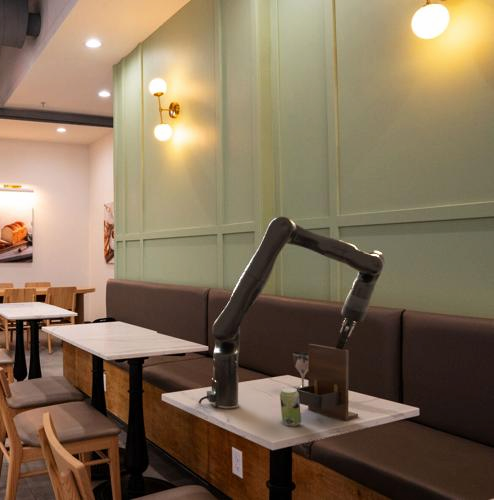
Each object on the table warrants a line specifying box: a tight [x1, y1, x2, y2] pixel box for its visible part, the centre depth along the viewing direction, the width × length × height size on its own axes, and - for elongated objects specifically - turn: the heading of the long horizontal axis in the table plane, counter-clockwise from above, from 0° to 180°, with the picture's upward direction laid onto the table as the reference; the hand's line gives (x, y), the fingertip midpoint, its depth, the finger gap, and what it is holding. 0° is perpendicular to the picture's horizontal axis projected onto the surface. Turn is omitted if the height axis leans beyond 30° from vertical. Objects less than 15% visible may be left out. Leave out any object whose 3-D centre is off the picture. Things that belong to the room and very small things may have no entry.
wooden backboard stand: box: [294, 343, 359, 422], centre depth 180 cm, size 19×15×24 cm
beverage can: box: [279, 386, 302, 427], centre depth 171 cm, size 6×7×12 cm
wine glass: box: [292, 351, 308, 388], centre depth 218 cm, size 8×8×15 cm
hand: (340, 344), depth 184 cm, fingers open, 8 cm apart
